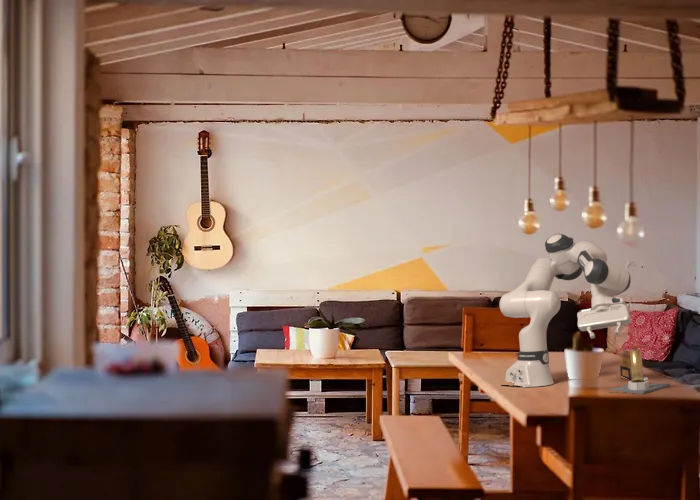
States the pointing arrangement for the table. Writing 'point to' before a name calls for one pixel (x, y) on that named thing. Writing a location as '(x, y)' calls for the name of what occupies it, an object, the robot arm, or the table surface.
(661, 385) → the coupling board
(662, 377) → the table surface
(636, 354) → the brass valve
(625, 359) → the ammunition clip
